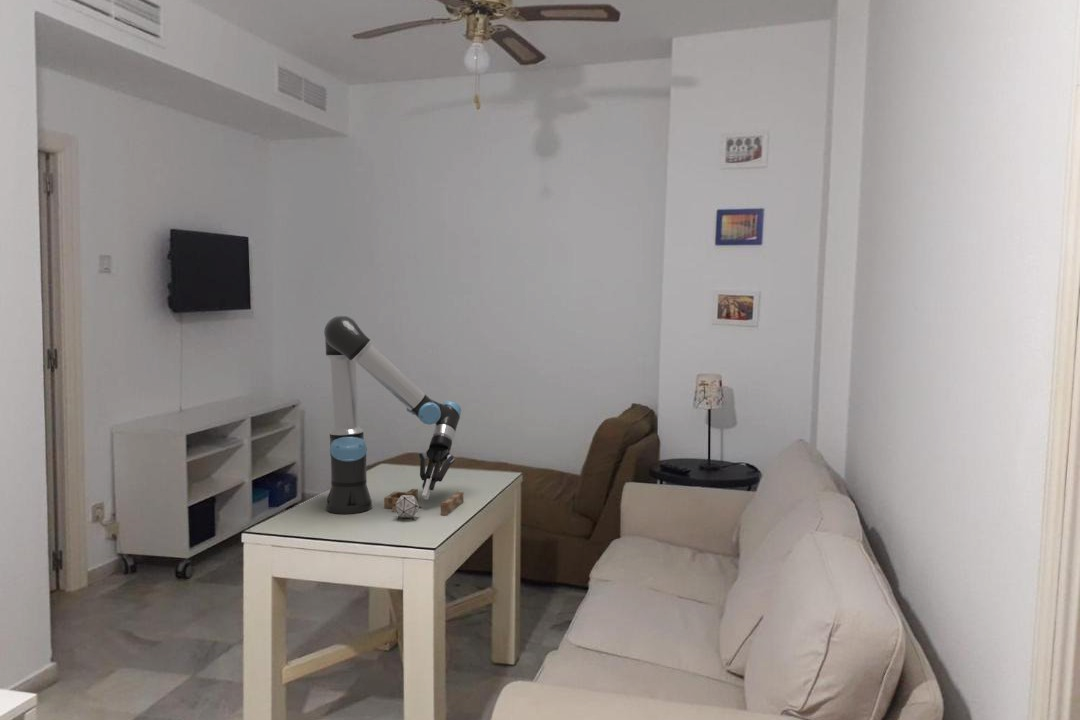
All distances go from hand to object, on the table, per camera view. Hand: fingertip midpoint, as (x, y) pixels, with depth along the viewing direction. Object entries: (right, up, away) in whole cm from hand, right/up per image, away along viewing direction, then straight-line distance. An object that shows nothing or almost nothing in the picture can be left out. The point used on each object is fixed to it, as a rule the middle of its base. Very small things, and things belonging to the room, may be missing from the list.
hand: (425, 497), depth 263 cm
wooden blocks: (-1, -4, +4) cm, 6 cm away
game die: (-4, -5, -11) cm, 13 cm away
